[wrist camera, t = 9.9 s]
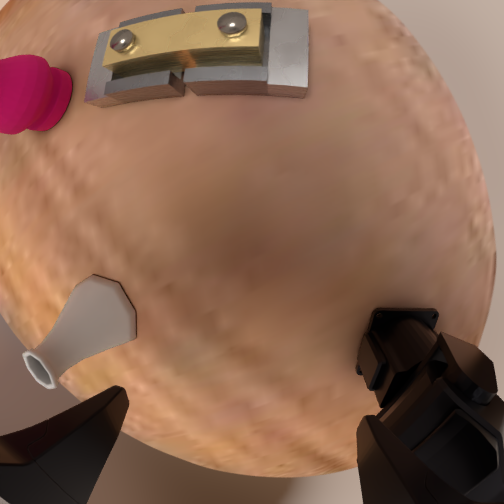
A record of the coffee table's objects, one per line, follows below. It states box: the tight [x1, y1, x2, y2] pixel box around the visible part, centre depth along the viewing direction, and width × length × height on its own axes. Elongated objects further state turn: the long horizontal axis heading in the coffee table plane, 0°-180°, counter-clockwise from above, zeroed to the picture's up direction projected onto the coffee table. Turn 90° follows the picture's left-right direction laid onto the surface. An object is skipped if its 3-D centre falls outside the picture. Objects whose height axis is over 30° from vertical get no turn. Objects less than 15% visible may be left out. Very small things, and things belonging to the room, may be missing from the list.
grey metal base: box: [84, 2, 308, 108], centre depth 14 cm, size 16×6×3 cm, turn 86°
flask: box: [22, 275, 136, 389], centre depth 17 cm, size 7×7×10 cm
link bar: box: [102, 9, 265, 78], centre depth 13 cm, size 10×3×4 cm, turn 86°
